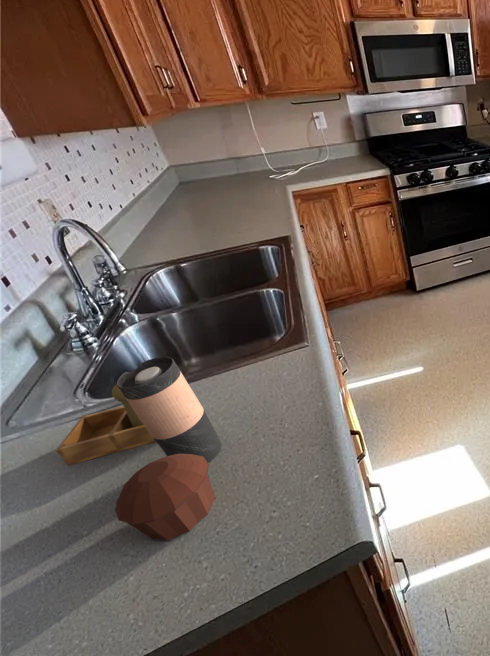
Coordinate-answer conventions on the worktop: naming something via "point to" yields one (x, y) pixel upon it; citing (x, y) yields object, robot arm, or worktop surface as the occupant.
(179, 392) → the travel mug
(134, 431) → the tray
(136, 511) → the muffin
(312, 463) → the worktop surface
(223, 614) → the worktop surface
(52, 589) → the worktop surface
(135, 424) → the cork
